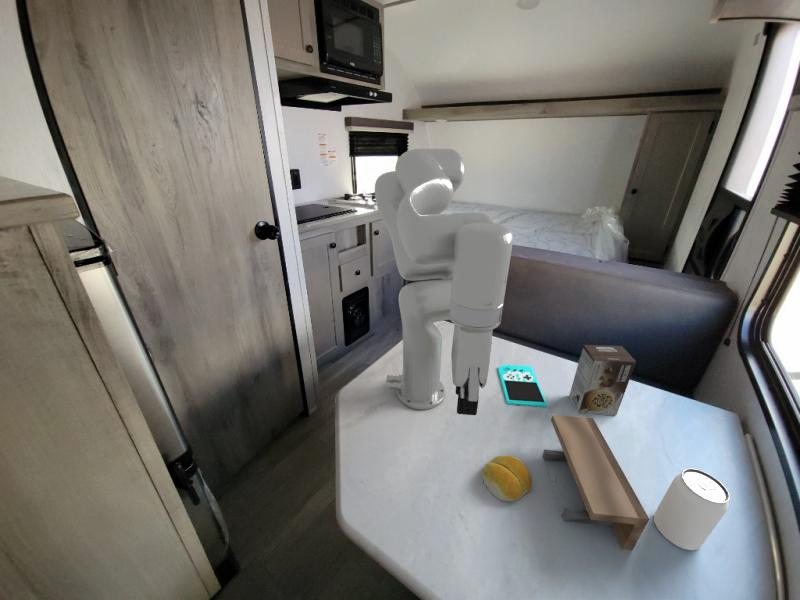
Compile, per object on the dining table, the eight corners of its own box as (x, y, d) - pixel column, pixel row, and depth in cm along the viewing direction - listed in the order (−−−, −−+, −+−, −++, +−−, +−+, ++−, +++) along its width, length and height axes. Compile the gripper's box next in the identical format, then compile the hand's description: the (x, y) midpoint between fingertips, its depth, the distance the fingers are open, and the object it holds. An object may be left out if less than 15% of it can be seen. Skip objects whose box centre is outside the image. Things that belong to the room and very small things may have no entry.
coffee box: (604, 397, 83) (622, 345, 76) (617, 416, 77) (638, 361, 70) (567, 395, 84) (582, 343, 77) (577, 413, 78) (594, 359, 71)
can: (643, 512, 57) (667, 467, 52) (677, 509, 58) (704, 464, 52) (674, 554, 51) (705, 508, 46) (711, 550, 52) (746, 504, 46)
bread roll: (538, 485, 62) (542, 471, 60) (507, 511, 58) (510, 497, 56) (504, 454, 68) (507, 441, 66) (474, 476, 64) (476, 462, 62)
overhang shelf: (570, 543, 53) (583, 512, 49) (537, 442, 71) (544, 414, 67) (632, 550, 52) (649, 519, 48) (582, 446, 70) (592, 417, 66)
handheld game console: (531, 369, 94) (532, 365, 94) (548, 409, 80) (549, 405, 80) (496, 367, 95) (497, 363, 95) (506, 406, 81) (507, 402, 81)
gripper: (448, 286, 55) (443, 371, 63) (451, 338, 40) (444, 441, 48) (493, 287, 54) (481, 374, 62) (513, 342, 39) (495, 446, 47)
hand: (465, 402), depth 55 cm, fingers open, 3 cm apart
